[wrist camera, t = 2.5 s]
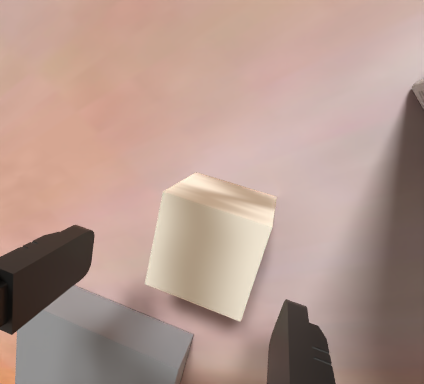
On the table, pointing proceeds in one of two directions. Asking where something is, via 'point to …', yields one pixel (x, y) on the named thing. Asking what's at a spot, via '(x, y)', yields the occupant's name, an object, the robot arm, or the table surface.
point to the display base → (98, 344)
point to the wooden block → (210, 242)
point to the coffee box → (419, 91)
